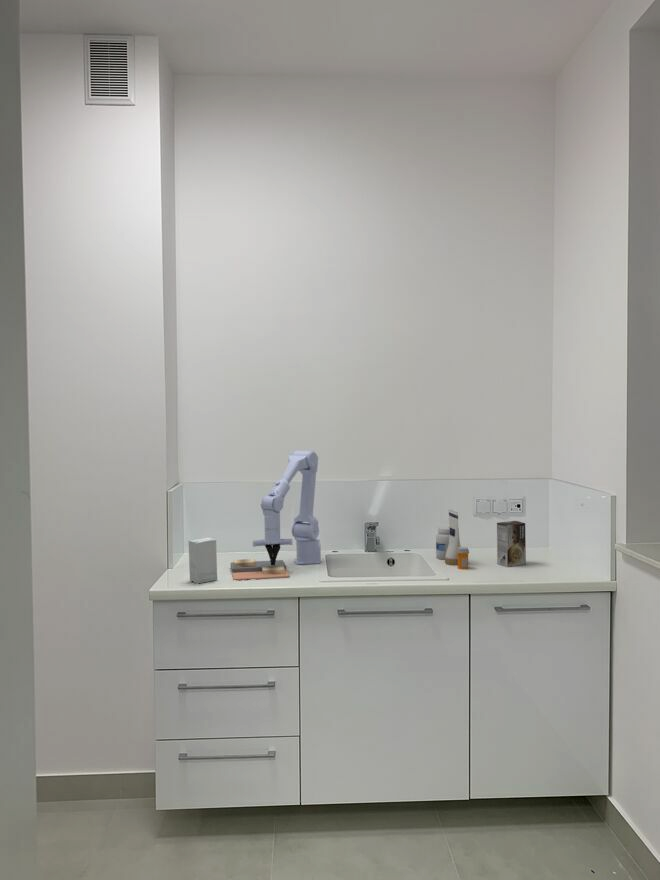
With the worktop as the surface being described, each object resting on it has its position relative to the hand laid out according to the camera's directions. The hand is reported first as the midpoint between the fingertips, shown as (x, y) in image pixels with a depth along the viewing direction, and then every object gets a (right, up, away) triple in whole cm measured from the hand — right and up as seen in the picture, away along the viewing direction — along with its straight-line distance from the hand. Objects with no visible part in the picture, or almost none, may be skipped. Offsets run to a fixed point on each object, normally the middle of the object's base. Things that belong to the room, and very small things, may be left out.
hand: (272, 564), depth 260 cm
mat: (-4, -3, -6) cm, 7 cm away
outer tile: (-11, -1, +4) cm, 11 cm away
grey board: (-6, -3, +5) cm, 8 cm away
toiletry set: (+69, -2, +13) cm, 70 cm away
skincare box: (-24, -4, -12) cm, 27 cm away
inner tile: (0, -2, -3) cm, 4 cm away
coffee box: (+90, -2, +9) cm, 91 cm away
